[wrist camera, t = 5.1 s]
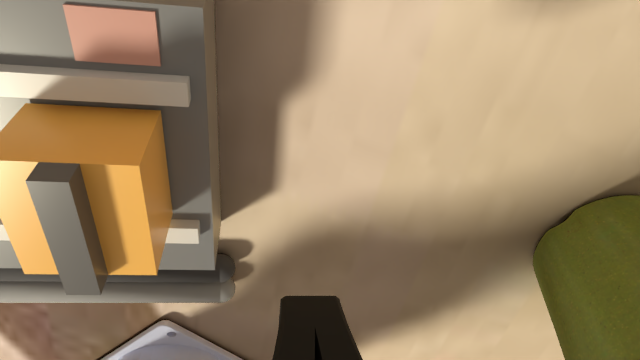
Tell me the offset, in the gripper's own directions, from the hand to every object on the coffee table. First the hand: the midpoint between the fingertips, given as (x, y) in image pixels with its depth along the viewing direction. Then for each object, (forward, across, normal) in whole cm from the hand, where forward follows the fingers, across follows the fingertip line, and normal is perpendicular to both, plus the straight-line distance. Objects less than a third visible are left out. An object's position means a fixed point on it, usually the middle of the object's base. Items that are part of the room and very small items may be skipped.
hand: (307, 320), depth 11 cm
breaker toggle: (+6, +6, 0) cm, 9 cm away
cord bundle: (+9, +11, +9) cm, 17 cm away
